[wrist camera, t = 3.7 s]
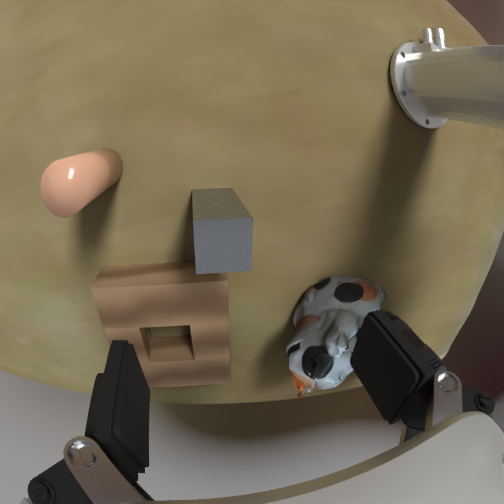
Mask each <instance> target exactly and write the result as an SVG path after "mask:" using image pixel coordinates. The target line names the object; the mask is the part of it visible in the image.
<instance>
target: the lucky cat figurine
mask: <svg viewBox="0 0 504 504" xmlns="http://www.w3.org/2000/svg"><path fill="white" fill-rule="evenodd" d="M385 298H386V294H385V291H384V289H383V288H382V287H381V286H379V285H378V284H376V283H374V282H372V281H369V280H367V279H363V278H359V277H355V276H329V277H328V278H327V279H326V280H325V281H324V282H323V284H315V285H313V286H310V288H309V289H308V290H307V291H306V292H305V294H304V297H303V299H302V300H301V302H300V304H299V305H298V307H297V308H296V310H295V313H294V318H293V321H294V326H295V328H296V331H295V333H294V335H293V337H292V339H291V341H290V342H289V343H288V345H287V350H286V353H287V355H288V358H289V370H290V371H291V372H292V383H293V385H294V387H295V389H296V390H297V391H298V392H299V394H298V397H299V398H300V397H302V396H304V395H305V393H306V392H309V393H310V392H311V391H312V390H325V389H331V388H334V387H336V386H338V385H339V384H340V383H342V382H343V381H344V380H345V379H346V377H347V376H348V374H350V372H352V371H353V368H352V367H351V364H350V357H351V355H352V352H353V349H354V346H355V344H356V341H357V338H358V335H359V332H360V329H361V326H362V323H363V320H364V318H365V316H367V314H368V313H369V312H372V311H376V310H381V308H380V306H381V304H382V302H384V300H385Z"/></svg>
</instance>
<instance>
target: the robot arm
mask: <svg viewBox="0 0 504 504" xmlns="http://www.w3.org/2000/svg"><path fill="white" fill-rule="evenodd" d="M422 30H423V37H424V42H423V43H422V44H421V43H418V42H408V43H404V44H402V45H400V46H399V47H398V48H397V49H396V50H395V52H394V53H393V56H392V59H391V65H390V75H391V81H392V86H393V89H394V93H395V95H396V98H397V100H398V102H399V104H400V106H401V108H402V109H403V111H404V112H405V113H406V115H407V116H408V117H409V118H410V119H411V120H412V121H413V122H414V123H416V124H417V125H419V126H422V127H425V128H438V127H440V126H442V125H443V124H444V123H445V122H446V121H447V120H456V121H462V122H469V123H475V124H480V125H485V126H490V127H495V128H500V129H504V46H464V47H452V48H446V47H445V35H444V31H443V30H442V29H440V28H432V30H431V29H429V28H423V29H422ZM432 39H433V40H434V43H433V40H432ZM350 364H351V367H352V368H353V370H354V371H355V373H356V375H357V376H358V378H359V379H360V381H361V383H362V384H363V386H364V387H365V389H366V390H367V392H368V394H369V395H370V397H371V399H372V400H373V402H374V403H375V405H376V407H377V408H378V410H379V412H380V413H381V415H382V417H383V418H384V419H385V420H388V422H389V424H390V425H391V424H393V423H395V422H397V421H399V420H400V419H401V420H402V421H403V427H402V432H401V436H400V442H399V445H398V446H396V447H394V448H392V449H390V450H388V451H386V452H384V453H382V454H379V455H377V456H375V457H373V458H370V459H368V460H366V461H364V462H361V463H359V464H356V465H354V466H351V467H349V468H346V469H343V470H341V471H338V472H335V473H332V474H329V475H326V476H323V477H320V478H317V479H314V480H310V481H307V482H303V483H299V484H295V485H292V486H287V487H283V488H279V489H274V490H269V491H264V492H259V493H253V494H247V495H240V496H232V497H223V498H212V499H199V500H169V501H155V500H154V499H153V498H152V497H151V496H150V495H149V494H148V493H147V492H146V491H145V490H144V489H143V488H142V487H141V486H140V485H139V484H138V483H137V481H138V473H145V467H149V404H150V390H149V386H148V383H147V381H146V378H145V376H144V373H143V370H142V368H141V365H140V362H139V360H138V357H137V354H136V351H135V348H134V345H133V344H129V343H128V341H127V340H112V342H111V346H110V350H109V354H108V358H107V362H106V366H105V371H104V373H99V374H98V375H97V376H96V379H95V383H94V388H93V392H92V397H91V402H90V407H89V412H88V419H87V424H86V430H85V437H84V436H78V437H75V438H72V439H71V440H69V441H68V442H67V444H66V445H65V448H64V451H63V454H64V459H62V460H61V461H59V462H58V463H56V464H55V465H53V466H52V467H50V468H49V469H47V470H46V471H44V472H43V473H41V474H39V475H38V476H36V477H35V478H33V479H32V480H31V481H30V483H29V485H28V494H29V497H28V498H27V499H26V498H24V499H23V500H22V502H21V503H20V504H504V407H503V406H501V405H499V404H498V403H495V405H494V401H493V399H492V397H491V396H490V395H489V394H488V393H486V392H484V391H479V390H475V389H471V388H467V387H462V386H461V382H460V380H459V378H458V377H457V376H456V375H455V374H454V373H452V372H449V371H440V372H439V373H437V374H436V376H435V375H434V372H435V370H434V369H433V368H432V366H431V365H430V364H429V363H428V362H427V360H426V359H425V358H424V357H423V356H422V355H421V353H420V352H419V351H418V350H417V349H416V348H415V346H414V345H413V344H412V343H411V342H410V341H409V340H408V338H407V337H406V336H405V335H404V334H403V333H402V332H401V331H400V329H399V328H398V327H397V326H396V325H395V324H394V323H393V322H392V321H391V319H390V318H389V317H388V316H387V315H386V314H385V313H384V312H383V311H382V310H376V311H372V312H369V313H368V314H367V316H365V318H364V320H363V323H362V326H361V329H360V332H359V335H358V338H357V341H356V344H355V346H354V349H353V352H352V355H351V357H350Z"/></svg>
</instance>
